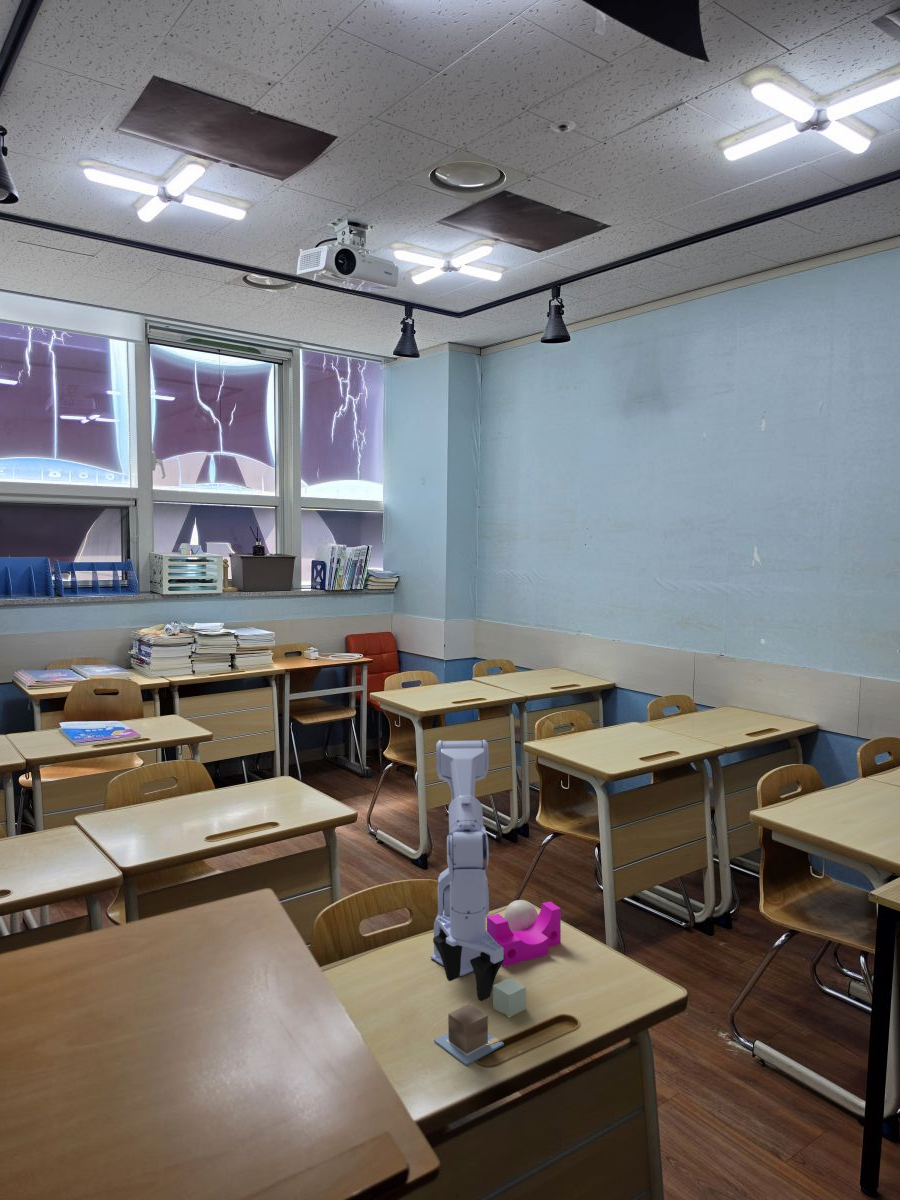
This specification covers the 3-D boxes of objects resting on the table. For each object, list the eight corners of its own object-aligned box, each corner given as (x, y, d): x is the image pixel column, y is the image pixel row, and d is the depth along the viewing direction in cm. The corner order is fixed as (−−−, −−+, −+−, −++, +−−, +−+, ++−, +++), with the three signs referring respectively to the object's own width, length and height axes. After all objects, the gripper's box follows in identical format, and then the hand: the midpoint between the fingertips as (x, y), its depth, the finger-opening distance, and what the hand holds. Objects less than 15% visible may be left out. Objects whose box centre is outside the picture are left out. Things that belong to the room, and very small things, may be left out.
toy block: (502, 967, 151) (502, 929, 151) (486, 953, 157) (486, 916, 157) (567, 950, 158) (567, 913, 158) (550, 936, 164) (550, 901, 163)
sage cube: (493, 1007, 138) (493, 985, 138) (509, 999, 140) (509, 977, 140) (509, 1018, 135) (509, 995, 135) (525, 1009, 137) (525, 986, 137)
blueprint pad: (434, 1041, 128) (434, 1039, 128) (471, 1022, 133) (471, 1021, 133) (466, 1065, 122) (466, 1063, 122) (503, 1045, 127) (503, 1043, 127)
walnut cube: (448, 1040, 128) (448, 1013, 128) (469, 1029, 131) (469, 1003, 130) (466, 1054, 124) (466, 1026, 124) (487, 1042, 127) (487, 1015, 127)
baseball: (522, 945, 160) (522, 912, 160) (498, 932, 165) (498, 901, 165) (546, 934, 164) (546, 903, 164) (521, 922, 170) (521, 892, 169)
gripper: (420, 898, 129) (421, 978, 130) (479, 929, 118) (479, 1017, 119) (453, 886, 134) (454, 964, 135) (513, 915, 123) (513, 1000, 124)
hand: (468, 988), depth 127 cm, fingers open, 7 cm apart
